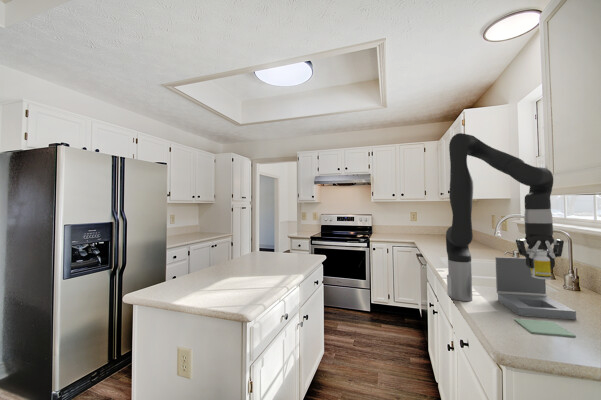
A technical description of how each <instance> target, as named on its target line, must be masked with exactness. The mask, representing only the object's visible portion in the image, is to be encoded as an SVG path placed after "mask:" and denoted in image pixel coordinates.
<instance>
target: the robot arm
mask: <svg viewBox="0 0 601 400" xmlns="http://www.w3.org/2000/svg"><path fill="white" fill-rule="evenodd" d="M448 145H449V147H448V148H449V149H448V151H449V164H450V169H449V170H450V171H449V176H450V177H449V180H450V181H449V203H450V207H451V212H452V221H451V225H450V227H448V228H447V230H446V232H445V242H446V243H445V245H446V247H445V248H446V255H447V269H448V271H447V275H446V287H447V289H446V290H447V291H446V292H447V294H446V295H447V296H448V297H449V298H450V299H451V300H456V301H460V302H461V301H462V302H471V301H473V277H472V276H473V275H472V274H473V272H472V255H471V253H470V248H469V245H470V244H471V243H472V241H473V238H474V236H473V225H472V223H473V222H472V211H473V201H474V198H473V197H474V180H473V177H472V175H471V172H470V170H469V169H470V168H469V166H468V156H469V157H474V158H476V159H479V160H481V161H483V162H485V163H486V164H487V165H489V166H490V167H491V168H493V169H495V170H497V171H499V172H501V173H503V174H506V175H508V176H509V177H511V178H513V179H514V180H515V181H516V182H518V183H519V184H521V185H525V186H527V187H529V190H528V193H527V194H526V195H524V215H523V216H524V217H523V219H524V221H523V222H524V233H525V237H524V238H522V239H519V238H518V239H515V244H516V248H517V250H518V254H519V255H520V256H521V257H522V256H523V257H524V258H526V265H527V266H528V267H529V268H534V261H533V256H534V253H536V251H537V250H544V251H547V255H546V257H548V258H549V259H550V269H551V270H553V269H554V268H555V266H556V265H555V263H556V261H555V260H556V258H558V257H559V258H561V257H562V254H563V249H564V244H565V242H564V240H561V239H554V237H553V235H554V228H553V227H554V224H553V212H552V205H551V204H552V203H551V195H552V192H553V186H554V174H553V173H552V171H551V170H550V169H549V168H547V167H543V166H542V167H538V166H533V165H531V164H528V163H526V162H525V161H524V160H523V159H521V158H519V157H517V156H515V155H512V154H509V153H507V152H504V151H502V150H499V149H496V148H495V147H492V146H490V145H488V144H486V143H485V142H483V141H481V139H480V138H477V137H476V136H474V135H472V134H468V133H467V134H466V133H463V132H462V133H461V132H460V133H459V132H458V133H456V134H454V135H453V136H452V137H451V138H450V141H449V144H448ZM526 244H527V247H526ZM552 244H553V247H552Z"/></svg>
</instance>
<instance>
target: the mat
mask: <svg viewBox="0 0 601 400" xmlns="http://www.w3.org/2000/svg"><path fill="white" fill-rule="evenodd" d="M513 320H514V321H515V322H516V323H517V324H519V325H520V326H521V327H523V328H524V329H526V330H527V331H528V332H529V333H530V334H535V335H536V334H537V335H545V336H546V335H547V336H557V337H571V338H576V334H574V333H572V332H571V331H569V330H567V329H566V328H564V327H562V326H561V325H559V324H558V323H557V322H555V321H550V320H549V321H548V320H537V319H535V320H534V319H521V318H514V319H513Z"/></svg>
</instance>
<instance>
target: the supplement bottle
mask: <svg viewBox="0 0 601 400" xmlns="http://www.w3.org/2000/svg"><path fill="white" fill-rule="evenodd" d="M533 261H534V268H530V271H531V276H532V277H534V278H538V279H545V280H550V279H551V278H552V269H550V259H549V258H548V257H547V251H544V250H542V249H540V250H537V251H536V253H534V256H533Z"/></svg>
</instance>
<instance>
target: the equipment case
mask: <svg viewBox="0 0 601 400" xmlns="http://www.w3.org/2000/svg"><path fill="white" fill-rule="evenodd" d="M495 281H496V283H495V284H496V288H495V289H496V293H497V301H499V302H500V303H501V304H502V305H504V306H505V307H507V308H508V309H510V311H513V312H514V313H515V314H516V315H518V316H523V317H524V316H525V317H536V318H537V317H538V318H549V319H550V318H552V319H564V320H567V319H568V320H577V311H576V310H574V309H572V308H570V307H568V306H566V305H564V304H562V303H560V302H559V301H557V300H554V299H552V298H551V297H548V294H547V292H546V291H547V289H546V288H547V286H546V284H547V283H546V279H538V278H534V277H532V276H531V271H530V268H529V267H528V266H527V265H526V257H509V256H508V257H506V256H505V257H503V256H502V257H500V256H495Z"/></svg>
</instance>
